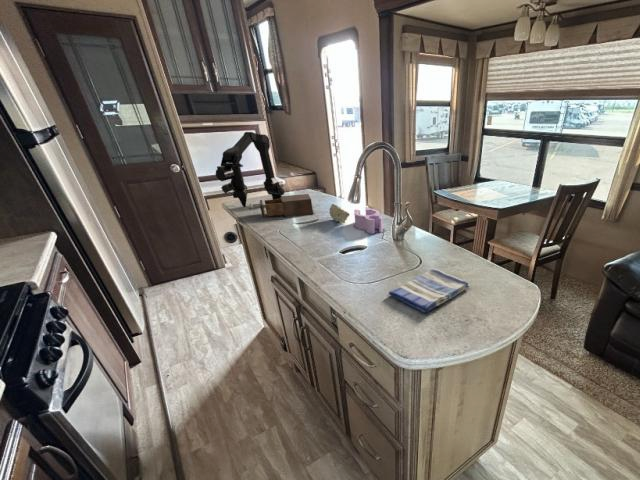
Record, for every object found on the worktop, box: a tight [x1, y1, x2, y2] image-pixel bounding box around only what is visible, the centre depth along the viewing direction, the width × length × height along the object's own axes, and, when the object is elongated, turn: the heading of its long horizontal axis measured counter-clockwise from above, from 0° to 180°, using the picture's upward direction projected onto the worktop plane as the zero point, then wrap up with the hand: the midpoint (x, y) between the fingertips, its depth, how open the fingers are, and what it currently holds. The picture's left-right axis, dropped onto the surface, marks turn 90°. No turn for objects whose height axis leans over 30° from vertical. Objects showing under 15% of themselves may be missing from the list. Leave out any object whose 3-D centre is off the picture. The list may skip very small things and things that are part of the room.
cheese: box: [329, 203, 351, 224], centre depth 172 cm, size 15×7×15 cm
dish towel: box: [388, 268, 470, 314], centre depth 109 cm, size 17×24×3 cm
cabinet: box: [281, 193, 314, 218], centre depth 185 cm, size 16×13×9 cm
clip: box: [354, 207, 384, 235], centre depth 164 cm, size 20×12×7 cm, turn 29°
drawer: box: [249, 199, 284, 218], centre depth 181 cm, size 20×11×7 cm, turn 110°
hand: (244, 207), depth 176 cm, fingers closed
